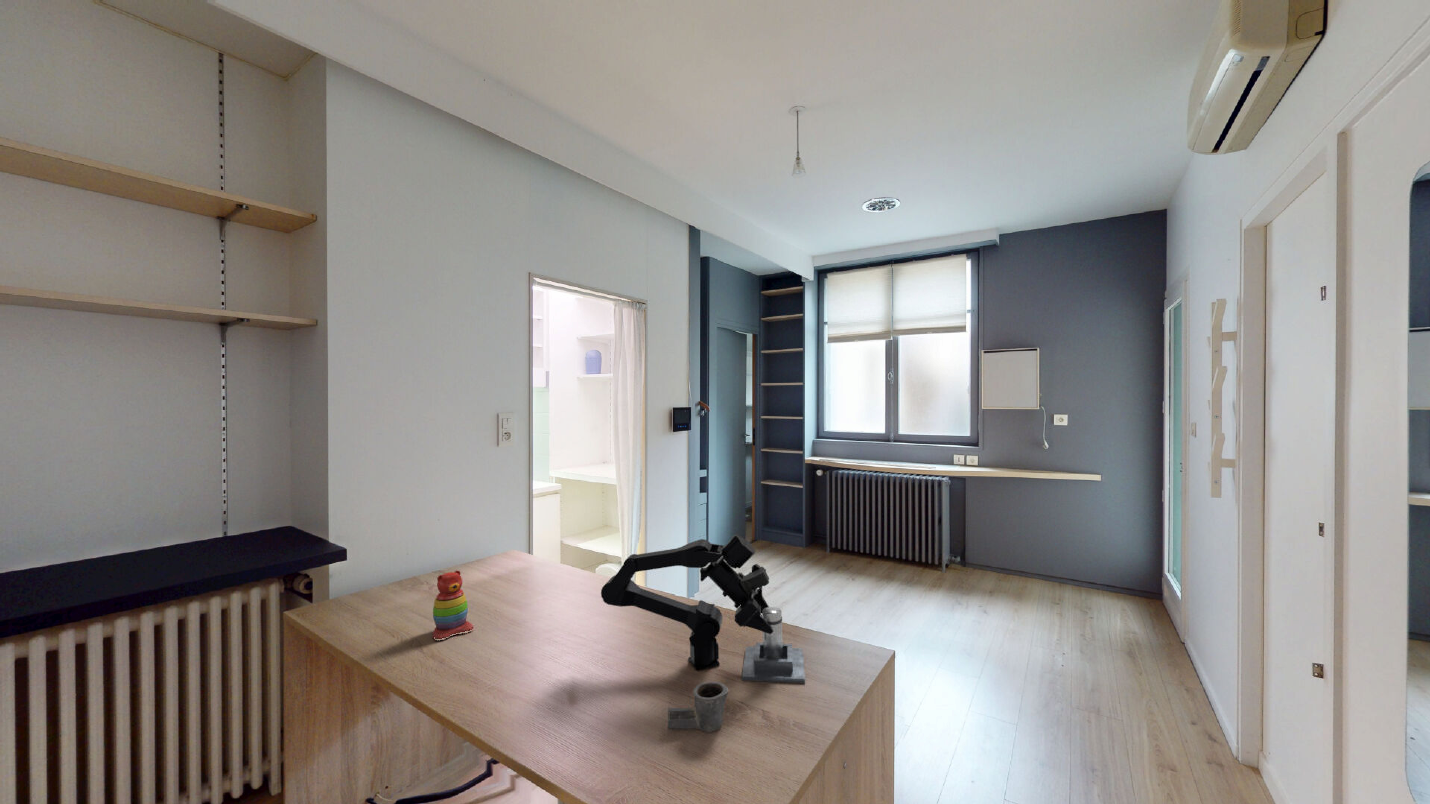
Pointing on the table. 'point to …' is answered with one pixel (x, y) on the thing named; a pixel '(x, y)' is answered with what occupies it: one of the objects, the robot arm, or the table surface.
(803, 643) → the table surface
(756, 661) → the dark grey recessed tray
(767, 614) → the silver banded cylinder
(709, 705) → the pipe
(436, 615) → the stacking bear
